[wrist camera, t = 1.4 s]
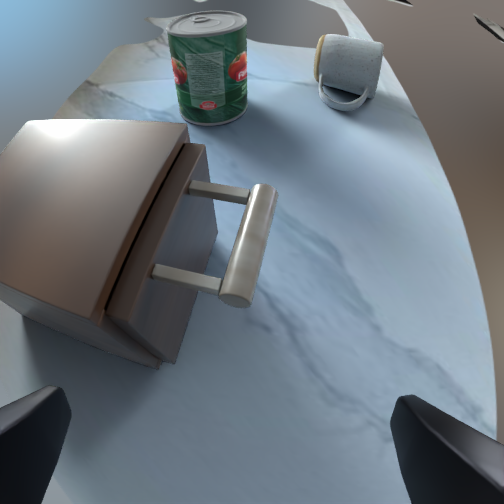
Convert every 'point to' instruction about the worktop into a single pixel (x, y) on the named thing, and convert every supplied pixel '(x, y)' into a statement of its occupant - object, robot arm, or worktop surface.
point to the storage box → (78, 219)
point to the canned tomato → (210, 66)
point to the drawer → (187, 255)
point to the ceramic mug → (347, 68)
